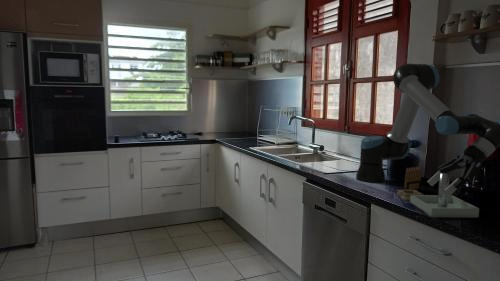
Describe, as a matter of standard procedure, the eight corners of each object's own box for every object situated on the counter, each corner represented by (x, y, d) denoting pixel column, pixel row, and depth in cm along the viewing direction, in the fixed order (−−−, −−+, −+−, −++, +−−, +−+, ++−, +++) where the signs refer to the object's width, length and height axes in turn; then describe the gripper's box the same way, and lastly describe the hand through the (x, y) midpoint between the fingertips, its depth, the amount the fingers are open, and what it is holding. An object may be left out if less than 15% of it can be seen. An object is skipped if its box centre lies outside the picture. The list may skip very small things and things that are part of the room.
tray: (409, 203, 155) (410, 195, 155) (451, 203, 156) (452, 195, 155) (431, 217, 138) (431, 208, 137) (478, 217, 138) (479, 208, 137)
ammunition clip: (417, 189, 179) (419, 165, 177) (421, 190, 177) (422, 166, 176) (403, 192, 174) (404, 167, 172) (406, 193, 172) (407, 168, 171)
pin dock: (397, 196, 166) (397, 189, 166) (414, 196, 166) (414, 189, 166) (404, 201, 158) (405, 194, 158) (422, 201, 159) (423, 194, 158)
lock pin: (435, 206, 148) (438, 172, 147) (444, 206, 148) (446, 172, 147) (440, 209, 145) (442, 174, 143) (449, 209, 145) (451, 174, 143)
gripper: (507, 163, 132) (462, 203, 133) (465, 152, 157) (428, 186, 158) (493, 149, 131) (449, 189, 133) (454, 140, 156) (417, 174, 158)
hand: (438, 188), depth 145 cm, fingers open, 13 cm apart
